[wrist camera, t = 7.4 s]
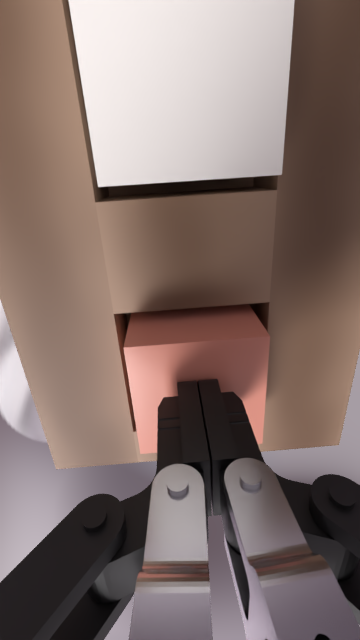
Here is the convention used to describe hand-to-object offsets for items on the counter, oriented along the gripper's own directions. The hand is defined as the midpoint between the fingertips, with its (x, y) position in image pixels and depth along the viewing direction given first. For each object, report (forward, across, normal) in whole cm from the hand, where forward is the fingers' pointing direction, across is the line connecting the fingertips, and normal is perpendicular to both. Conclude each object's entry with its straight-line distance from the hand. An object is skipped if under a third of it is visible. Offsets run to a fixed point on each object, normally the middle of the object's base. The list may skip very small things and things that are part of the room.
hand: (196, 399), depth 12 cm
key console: (+6, 0, -5) cm, 8 cm away
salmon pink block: (+4, 0, 0) cm, 4 cm away
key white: (+4, 0, -10) cm, 11 cm away
